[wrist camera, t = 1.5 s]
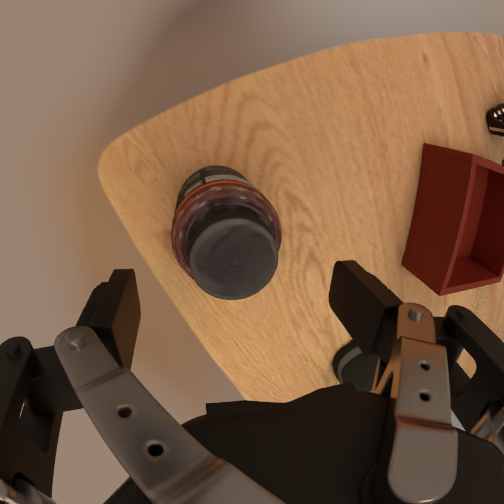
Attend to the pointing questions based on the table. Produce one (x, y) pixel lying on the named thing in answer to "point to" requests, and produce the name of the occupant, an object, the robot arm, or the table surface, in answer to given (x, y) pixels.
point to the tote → (457, 222)
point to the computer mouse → (355, 367)
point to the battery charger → (496, 120)
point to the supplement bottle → (225, 233)
